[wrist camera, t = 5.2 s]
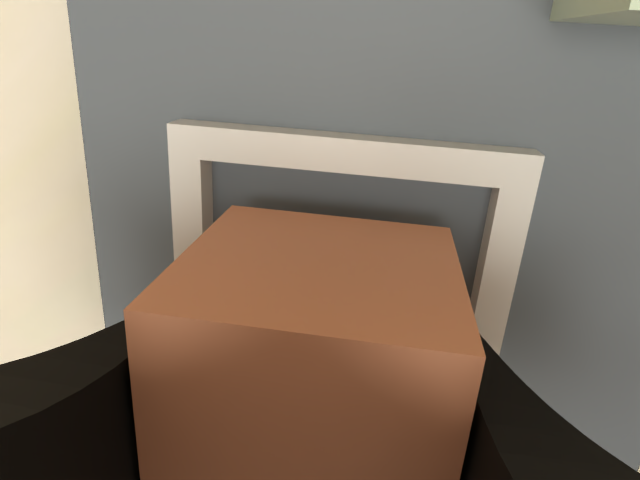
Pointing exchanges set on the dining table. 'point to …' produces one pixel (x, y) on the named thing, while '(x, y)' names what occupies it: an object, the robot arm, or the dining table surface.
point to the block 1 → (305, 353)
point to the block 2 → (597, 11)
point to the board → (389, 158)
